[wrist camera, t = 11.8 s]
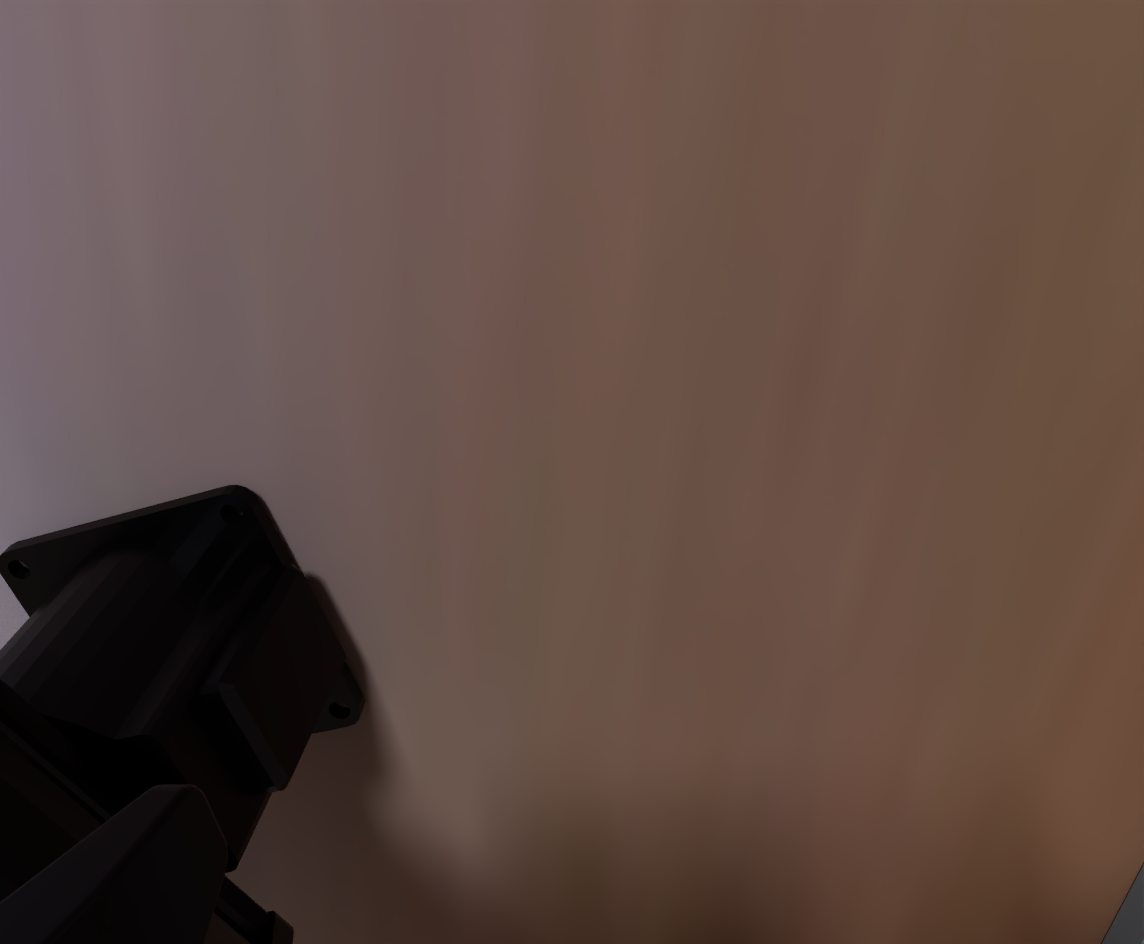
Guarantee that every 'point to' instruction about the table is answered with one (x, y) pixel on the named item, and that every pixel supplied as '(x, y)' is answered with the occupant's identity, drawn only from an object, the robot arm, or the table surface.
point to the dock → (1129, 917)
